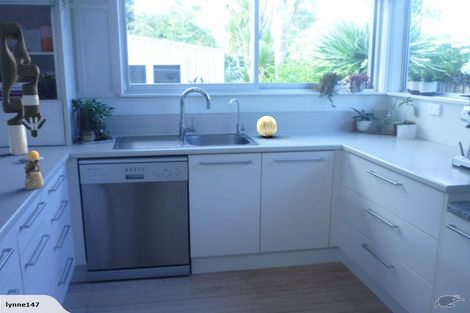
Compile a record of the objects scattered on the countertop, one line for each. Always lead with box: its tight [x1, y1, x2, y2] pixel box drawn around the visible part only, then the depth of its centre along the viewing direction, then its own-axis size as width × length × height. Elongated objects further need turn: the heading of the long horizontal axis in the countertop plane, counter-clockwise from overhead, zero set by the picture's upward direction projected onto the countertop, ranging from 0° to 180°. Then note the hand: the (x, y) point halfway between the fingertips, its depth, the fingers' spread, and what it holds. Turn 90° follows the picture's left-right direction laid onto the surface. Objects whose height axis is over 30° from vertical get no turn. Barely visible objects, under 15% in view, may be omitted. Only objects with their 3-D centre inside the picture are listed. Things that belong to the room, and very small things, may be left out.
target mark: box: [19, 156, 45, 163], centre depth 235 cm, size 12×12×1 cm
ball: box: [27, 150, 40, 160], centre depth 231 cm, size 6×6×6 cm
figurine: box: [23, 159, 44, 190], centre depth 178 cm, size 7×7×12 cm
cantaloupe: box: [256, 115, 278, 138], centre depth 308 cm, size 15×15×15 cm
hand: (34, 137), depth 222 cm, fingers closed
